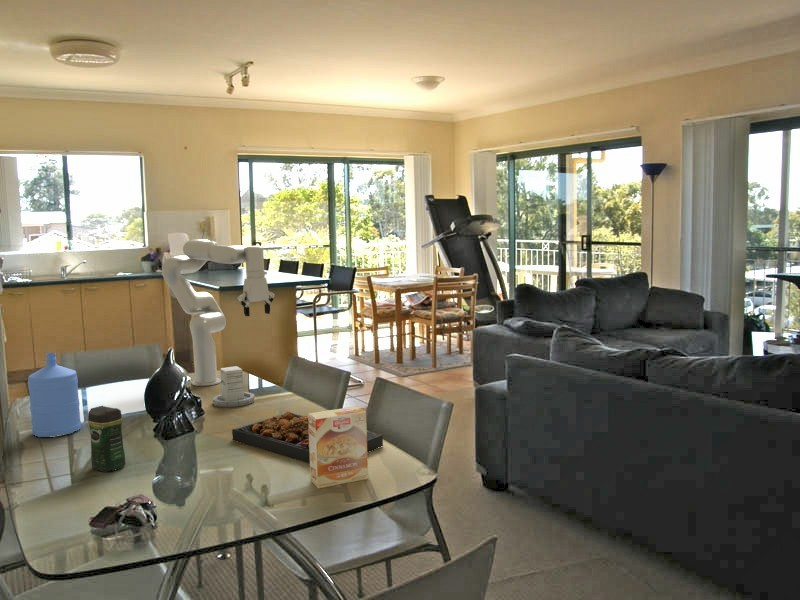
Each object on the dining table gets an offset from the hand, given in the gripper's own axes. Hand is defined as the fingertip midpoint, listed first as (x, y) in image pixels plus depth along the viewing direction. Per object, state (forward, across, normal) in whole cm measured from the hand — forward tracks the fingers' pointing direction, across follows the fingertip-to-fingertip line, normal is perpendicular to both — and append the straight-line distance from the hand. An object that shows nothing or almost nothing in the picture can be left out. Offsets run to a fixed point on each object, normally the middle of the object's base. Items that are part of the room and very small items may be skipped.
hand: (257, 314), depth 302 cm
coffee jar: (+32, +82, +54) cm, 103 cm away
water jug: (+32, +83, +3) cm, 89 cm away
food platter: (+33, +27, +77) cm, 88 cm away
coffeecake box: (+33, +38, +111) cm, 122 cm away
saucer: (+32, +19, +12) cm, 39 cm away
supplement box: (+31, +19, +12) cm, 39 cm away
